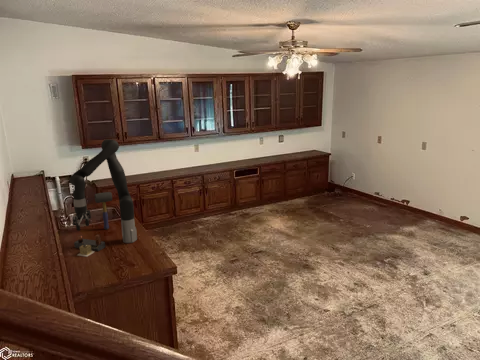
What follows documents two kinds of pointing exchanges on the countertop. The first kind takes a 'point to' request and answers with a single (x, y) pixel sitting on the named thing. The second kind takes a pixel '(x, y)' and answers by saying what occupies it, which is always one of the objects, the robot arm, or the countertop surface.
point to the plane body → (90, 243)
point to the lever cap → (85, 249)
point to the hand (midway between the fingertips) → (83, 228)
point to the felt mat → (85, 255)
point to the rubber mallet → (104, 205)
